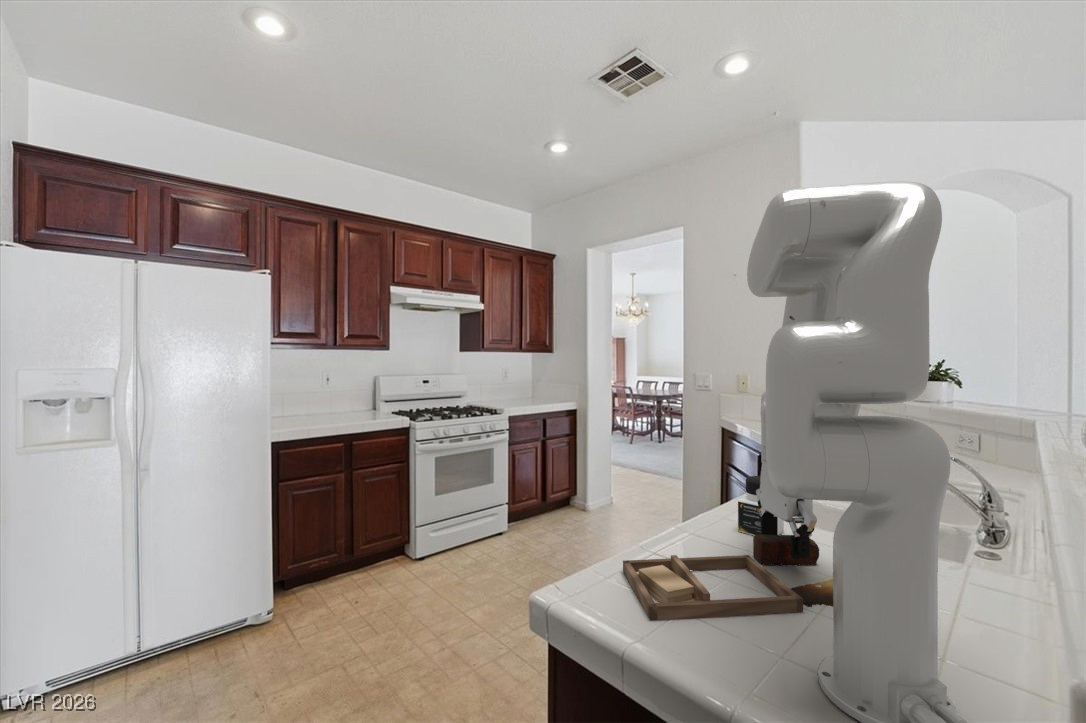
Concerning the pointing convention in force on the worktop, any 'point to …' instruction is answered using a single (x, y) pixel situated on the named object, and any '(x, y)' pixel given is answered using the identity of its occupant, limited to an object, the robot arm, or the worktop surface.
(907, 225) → the robot arm
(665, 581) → the offcut stack
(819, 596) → the parchment
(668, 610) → the rack
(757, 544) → the brick
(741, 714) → the worktop surface
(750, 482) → the medicine bottle
